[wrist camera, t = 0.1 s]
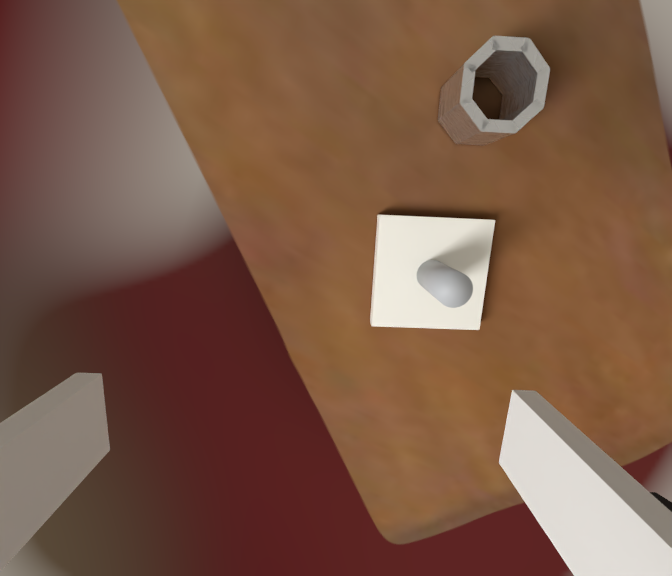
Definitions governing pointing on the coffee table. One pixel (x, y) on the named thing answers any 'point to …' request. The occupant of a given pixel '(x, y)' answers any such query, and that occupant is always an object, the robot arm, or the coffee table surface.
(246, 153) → the coffee table surface
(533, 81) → the tube
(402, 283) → the post
